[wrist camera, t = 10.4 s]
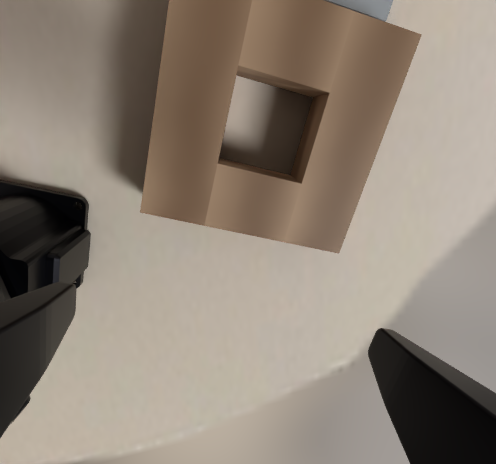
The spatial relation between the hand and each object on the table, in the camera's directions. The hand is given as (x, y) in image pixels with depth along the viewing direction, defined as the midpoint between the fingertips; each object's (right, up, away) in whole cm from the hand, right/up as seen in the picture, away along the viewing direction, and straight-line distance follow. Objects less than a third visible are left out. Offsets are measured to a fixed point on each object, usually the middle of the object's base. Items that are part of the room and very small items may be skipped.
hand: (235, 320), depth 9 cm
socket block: (+1, +9, +10) cm, 13 cm away
